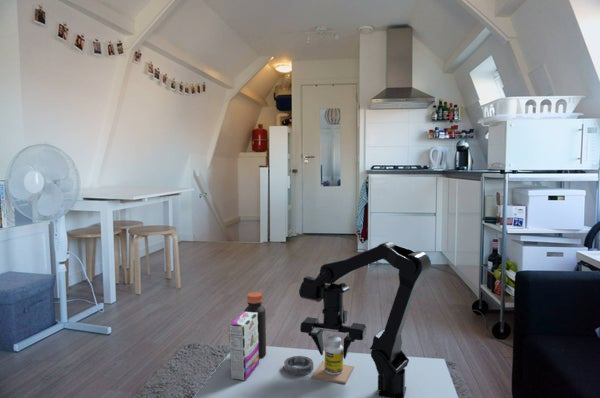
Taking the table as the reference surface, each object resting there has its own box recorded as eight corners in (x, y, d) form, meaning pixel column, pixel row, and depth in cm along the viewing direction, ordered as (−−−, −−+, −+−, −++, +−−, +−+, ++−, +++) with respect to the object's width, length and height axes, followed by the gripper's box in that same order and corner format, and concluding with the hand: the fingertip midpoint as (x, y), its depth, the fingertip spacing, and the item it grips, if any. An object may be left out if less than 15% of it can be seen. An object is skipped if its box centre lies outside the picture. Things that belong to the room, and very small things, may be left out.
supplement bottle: (323, 374, 121) (323, 341, 121) (325, 365, 127) (326, 334, 126) (341, 376, 120) (342, 343, 120) (343, 367, 126) (344, 335, 125)
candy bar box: (244, 362, 131) (243, 310, 130) (259, 364, 130) (258, 312, 129) (229, 379, 120) (228, 323, 119) (245, 381, 119) (244, 325, 118)
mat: (353, 368, 127) (353, 366, 126) (345, 384, 117) (345, 381, 117) (322, 362, 130) (322, 361, 130) (311, 377, 121) (311, 375, 121)
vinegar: (269, 352, 138) (268, 292, 136) (260, 361, 132) (259, 298, 130) (251, 349, 140) (250, 290, 139) (241, 357, 134) (240, 296, 133)
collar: (316, 364, 129) (316, 358, 129) (307, 377, 121) (307, 370, 121) (290, 360, 132) (290, 354, 132) (280, 372, 124) (280, 366, 124)
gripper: (370, 299, 126) (370, 350, 127) (311, 293, 133) (312, 341, 134) (362, 311, 116) (362, 366, 117) (299, 304, 123) (299, 356, 124)
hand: (333, 356), depth 123 cm, fingers open, 7 cm apart
